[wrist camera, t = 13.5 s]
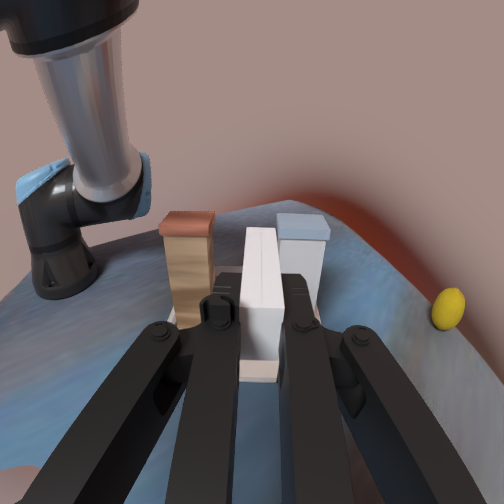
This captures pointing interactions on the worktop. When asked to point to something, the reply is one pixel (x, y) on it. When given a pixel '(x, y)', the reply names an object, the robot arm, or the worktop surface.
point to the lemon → (448, 309)
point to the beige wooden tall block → (189, 261)
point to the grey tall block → (302, 247)
